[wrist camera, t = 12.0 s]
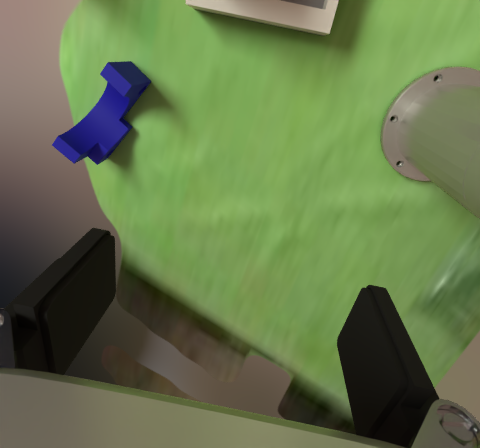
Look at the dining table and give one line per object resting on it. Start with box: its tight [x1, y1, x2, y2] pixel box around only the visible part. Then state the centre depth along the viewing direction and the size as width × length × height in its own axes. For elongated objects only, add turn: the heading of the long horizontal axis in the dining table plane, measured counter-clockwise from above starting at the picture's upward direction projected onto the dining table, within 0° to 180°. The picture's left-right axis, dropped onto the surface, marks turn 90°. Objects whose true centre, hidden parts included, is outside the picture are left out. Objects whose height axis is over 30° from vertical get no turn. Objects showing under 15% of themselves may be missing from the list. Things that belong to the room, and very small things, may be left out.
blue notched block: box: [52, 61, 151, 165], centre depth 37 cm, size 12×4×6 cm, turn 135°
